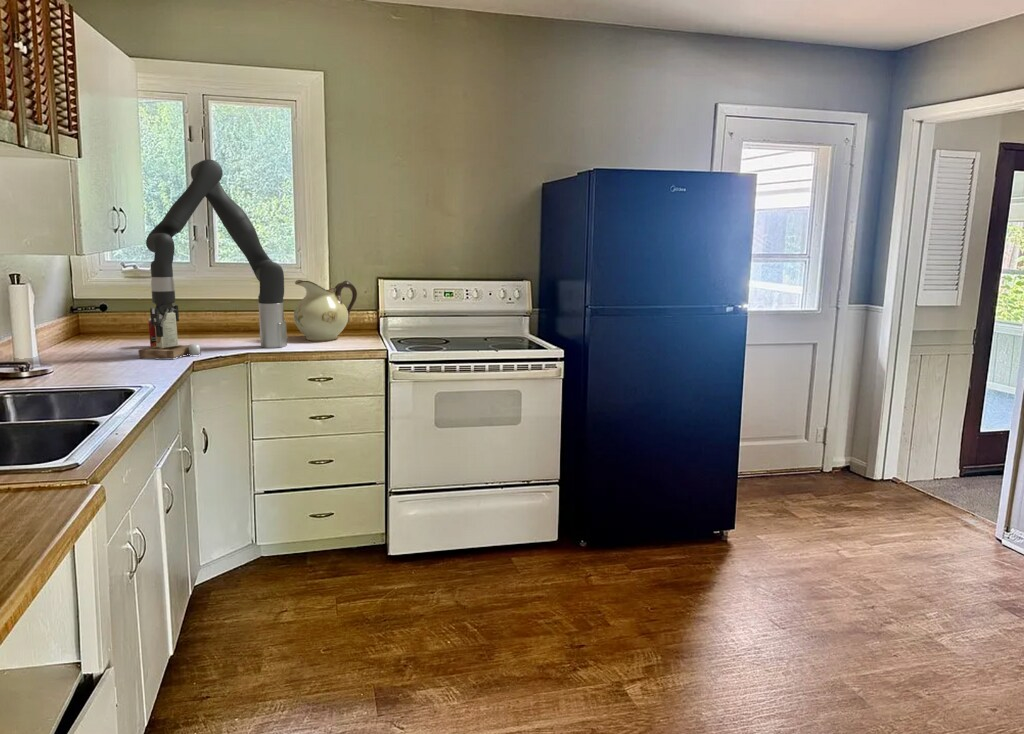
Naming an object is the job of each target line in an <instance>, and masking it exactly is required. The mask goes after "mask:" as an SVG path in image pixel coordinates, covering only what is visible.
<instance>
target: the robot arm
mask: <svg viewBox="0 0 1024 734" xmlns="http://www.w3.org/2000/svg"><path fill="white" fill-rule="evenodd" d="M223 172H224V171H223V168H222V166H221V165H220V163H218V161H216V160H213V159H202V160H200V161H199V162H197V163H195V164H194V165H192V167H191V170H190V176H191V179H192V181H191V183H190V184H189V185H188V187H187V188H186V190H185V191H184V192H183V193H181V195H180V196H179V197H178V199H177V200H176V201H175V202H174V203H173V205H171V206H170V208H169V209H168V210H167V213H166V214H165V216H164V217H163V219H162V220H161V221H160V222H159V223H158V224H157V225H156V226H155V227H154V228H153V229H152V230H151V231H150V232H149V234H148V236H147V237H146V239H145V245H146V248H147V250H149V251H150V252H151V253H154V255H153V256H154V258H153V261H151V263H150V275H151V278H150V279H151V281H150V286H151V287H150V288H151V300H152V301H151V302H152V303H153V304H155V308H154V307H151V308H150V309H149V312H150V319H151V325H154V326H155V327H156V336H157V337H163V327H162V325H163V322H164V321H165V320H166V316H167V314H168V313H172V312H173V313H175V315H176V323H177V322H180V315H179V314H180V313H179V305H177V304H176V305H175V303H176V289H175V281H174V273H173V262H174V257H175V248H176V247H175V242H174V239H173V237H174V236H175V235H177V234H179V233H180V232H182V230H183V229H184V227H185V226H186V224H187V223H188V221H189V220H190V219H191V217H192V215H193V214H194V213H195V211H196V210H197V208H198V206H199V205H200V203H201V202H202V201H203V200H204V198H206V199H207V201H208V203H209V204H210V205H211V206H212V209H213V210H214V212H215V214H216V215H217V217H218V218H219V220H220V221H221V223H222V225H223V226H224V228H225V230H226V232H227V233H228V234H229V236H230V237H231V239H232V240H233V242H234V243H235V244H236V246H237V248H238V249H239V250H240V251H241V253H242V254H243V255H244V256H245V258H246V260H247V261H248V264H249V266H250V267H251V269H252V271H253V273H254V275H255V278H256V279H257V280H258V282H259V294H258V297H257V299H258V315H259V316H258V320H259V339H260V342H259V343H260V347H261V348H265V349H267V348H268V349H270V348H271V349H272V348H273V349H274V348H283V347H286V346H288V336H287V335H288V333H287V331H288V330H287V321H285V316H284V315H285V314H284V296H285V275H284V274H285V273H284V270H283V267H282V266H281V264H279V263H277V262H274V261H273V260H272V259H271V258H270V257H269V255H268V254H267V252H266V251H265V250H264V248H263V246H262V244H261V242H260V239H259V236H258V233H257V231H256V229H255V227H254V225H253V223H252V221H251V220H250V218H249V217H248V215H247V213H246V212H245V211H244V209H242V207H241V206H239V205H238V204H237V203H236V202H235V201H234V200H233V199H232V198H231V197H230V196H229V195H228V194H227V192H226V190H224V188H223V186H222V185H221V183H220V181H221V180H222V178H223V174H224V173H223ZM159 314H161V315H163V317H162V318H159ZM154 318H155V322H154ZM159 320H161V321H160V323H159Z"/></svg>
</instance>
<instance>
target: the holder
mask: <svg viewBox="0 0 1024 734" xmlns="http://www.w3.org/2000/svg"><path fill="white" fill-rule="evenodd" d="M189 345H190V344H178V346H173V347H165V348H160V347H157V346H153V347H151V346H150V347H146V348H142V349H138V357H139V358H138V359H142V358H176V357H180V356H183V355H187V354H189Z"/></svg>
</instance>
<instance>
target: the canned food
mask: <svg viewBox="0 0 1024 734" xmlns="http://www.w3.org/2000/svg"><path fill="white" fill-rule="evenodd" d="M148 332H149V345H150V347H153V346H156V335H155V326H154V325H151V318H148Z"/></svg>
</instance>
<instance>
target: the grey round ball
mask: <svg viewBox="0 0 1024 734" xmlns="http://www.w3.org/2000/svg"><path fill="white" fill-rule="evenodd" d="M188 345H189V354H190V355H199V354H200V355H201V346H200V343H190V344H188ZM190 355H189V356H190Z"/></svg>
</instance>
